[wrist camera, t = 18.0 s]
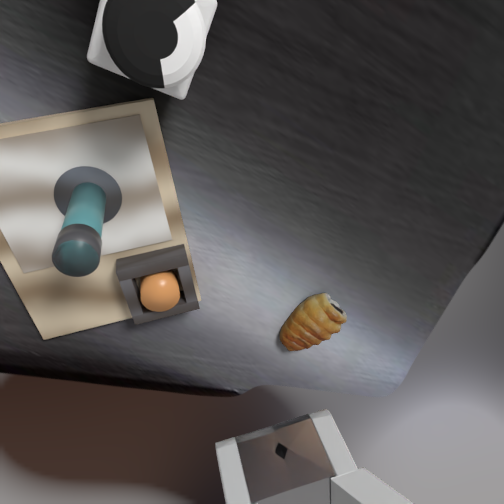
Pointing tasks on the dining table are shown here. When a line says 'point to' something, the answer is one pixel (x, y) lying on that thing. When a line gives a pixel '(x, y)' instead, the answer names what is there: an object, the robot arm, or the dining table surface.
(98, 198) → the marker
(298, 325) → the pastry
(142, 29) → the medicine bottle
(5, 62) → the dining table surface
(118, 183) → the beige board with holder
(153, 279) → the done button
